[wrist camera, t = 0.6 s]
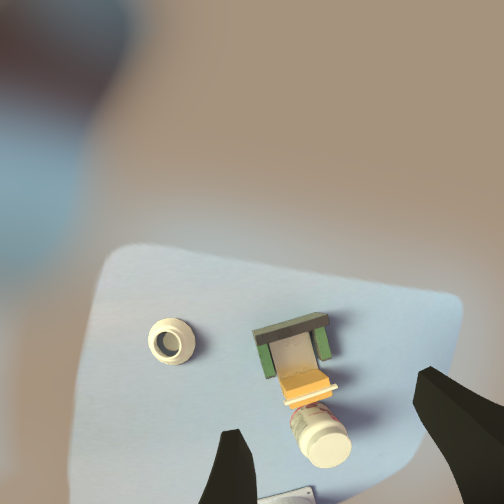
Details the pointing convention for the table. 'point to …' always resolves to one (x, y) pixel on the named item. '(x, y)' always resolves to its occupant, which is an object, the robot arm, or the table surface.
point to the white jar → (172, 340)
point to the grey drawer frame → (293, 346)
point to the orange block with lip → (306, 388)
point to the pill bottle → (320, 435)
